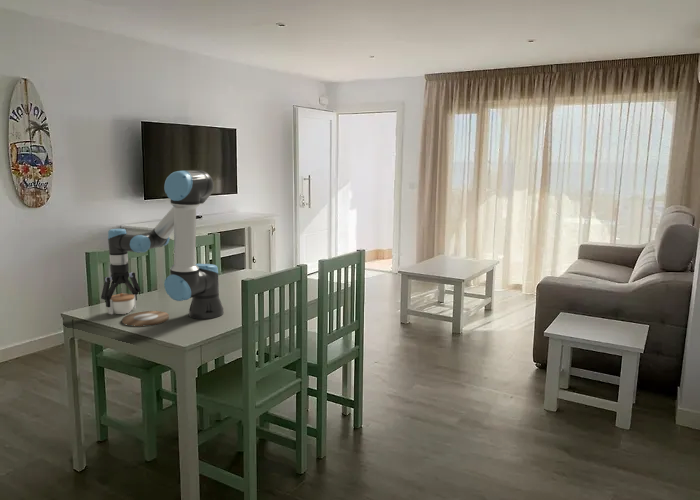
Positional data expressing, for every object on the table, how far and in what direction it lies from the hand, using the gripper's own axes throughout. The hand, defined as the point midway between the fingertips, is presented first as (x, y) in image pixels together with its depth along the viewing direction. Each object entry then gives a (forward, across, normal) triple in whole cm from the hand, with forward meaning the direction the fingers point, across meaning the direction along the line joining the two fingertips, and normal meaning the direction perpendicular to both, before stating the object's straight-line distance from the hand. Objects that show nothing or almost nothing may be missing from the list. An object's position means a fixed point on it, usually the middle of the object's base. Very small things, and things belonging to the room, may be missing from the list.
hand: (122, 310), depth 246 cm
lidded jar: (+1, 0, 0) cm, 1 cm away
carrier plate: (+1, 0, +18) cm, 18 cm away
